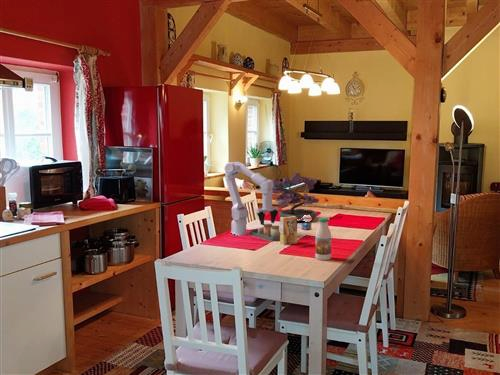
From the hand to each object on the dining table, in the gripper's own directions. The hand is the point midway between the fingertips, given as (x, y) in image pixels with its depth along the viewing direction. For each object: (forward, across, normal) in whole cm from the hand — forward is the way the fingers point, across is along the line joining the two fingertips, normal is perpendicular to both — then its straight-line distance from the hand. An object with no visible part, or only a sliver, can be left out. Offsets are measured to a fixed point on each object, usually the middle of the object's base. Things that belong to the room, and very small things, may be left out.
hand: (267, 223), depth 282 cm
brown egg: (+8, 0, -7) cm, 10 cm away
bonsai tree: (+9, +48, +33) cm, 59 cm away
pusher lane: (+8, 0, 0) cm, 8 cm away
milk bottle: (+8, -6, -52) cm, 53 cm away
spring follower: (+7, 0, +6) cm, 10 cm away
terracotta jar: (+7, 0, 0) cm, 7 cm away
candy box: (+8, -1, -20) cm, 22 cm away
